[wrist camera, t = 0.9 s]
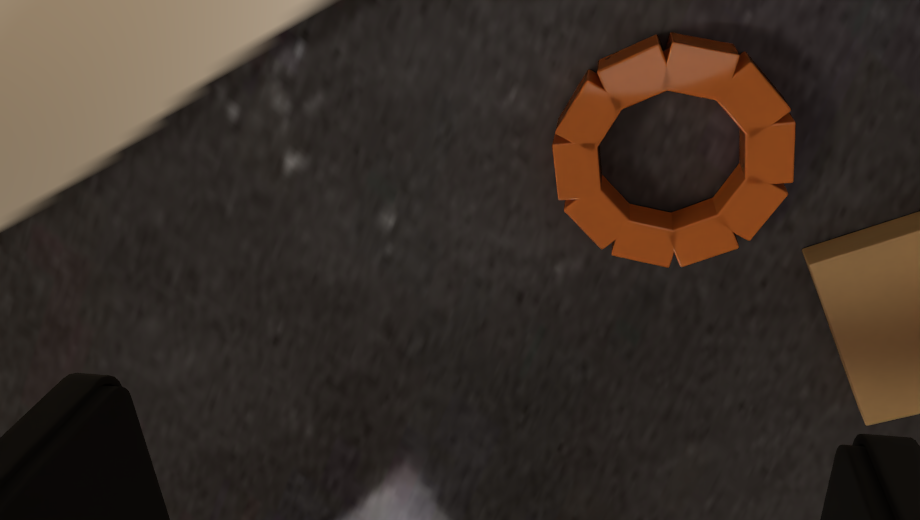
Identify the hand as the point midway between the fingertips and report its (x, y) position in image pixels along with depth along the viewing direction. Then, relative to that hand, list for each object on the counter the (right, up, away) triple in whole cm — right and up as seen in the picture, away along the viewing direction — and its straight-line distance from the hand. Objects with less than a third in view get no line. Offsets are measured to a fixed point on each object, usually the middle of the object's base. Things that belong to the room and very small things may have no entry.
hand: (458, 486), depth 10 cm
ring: (+9, +8, +22) cm, 25 cm away
